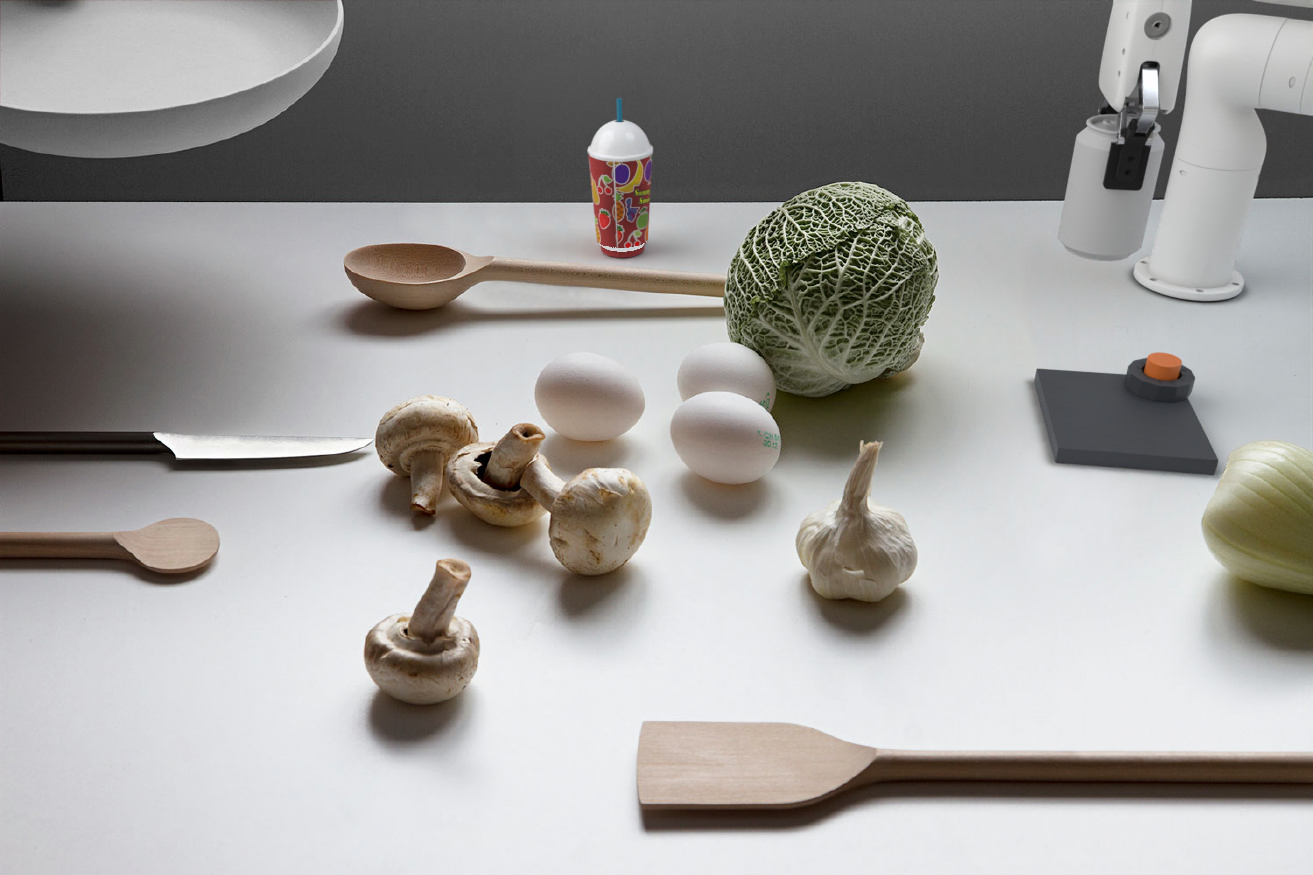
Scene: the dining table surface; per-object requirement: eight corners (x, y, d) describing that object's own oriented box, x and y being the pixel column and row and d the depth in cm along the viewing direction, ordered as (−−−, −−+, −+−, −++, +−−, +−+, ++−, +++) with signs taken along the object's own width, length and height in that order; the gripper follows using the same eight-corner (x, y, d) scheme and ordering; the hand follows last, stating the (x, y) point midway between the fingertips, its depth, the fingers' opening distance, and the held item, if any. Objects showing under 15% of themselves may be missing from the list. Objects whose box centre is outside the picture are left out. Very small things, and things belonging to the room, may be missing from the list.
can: (1145, 267, 102) (1176, 136, 96) (1059, 261, 104) (1084, 131, 98) (1134, 238, 109) (1162, 112, 102) (1052, 232, 110) (1075, 108, 104)
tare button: (1140, 366, 115) (1144, 351, 114) (1173, 368, 114) (1177, 353, 114) (1147, 381, 112) (1151, 365, 111) (1181, 383, 112) (1185, 367, 111)
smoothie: (653, 262, 147) (652, 107, 137) (589, 262, 147) (583, 108, 137) (654, 238, 154) (653, 90, 144) (593, 239, 154) (587, 90, 144)
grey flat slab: (1033, 380, 119) (1038, 350, 117) (1178, 390, 117) (1186, 359, 115) (1055, 463, 105) (1061, 431, 103) (1220, 476, 103) (1230, 443, 101)
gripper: (1232, -16, 85) (1178, 209, 95) (1181, -49, 100) (1138, 148, 109) (1128, -18, 87) (1084, 204, 96) (1093, -51, 101) (1058, 144, 110)
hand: (1113, 173), depth 102 cm, fingers closed on can, 7 cm apart
